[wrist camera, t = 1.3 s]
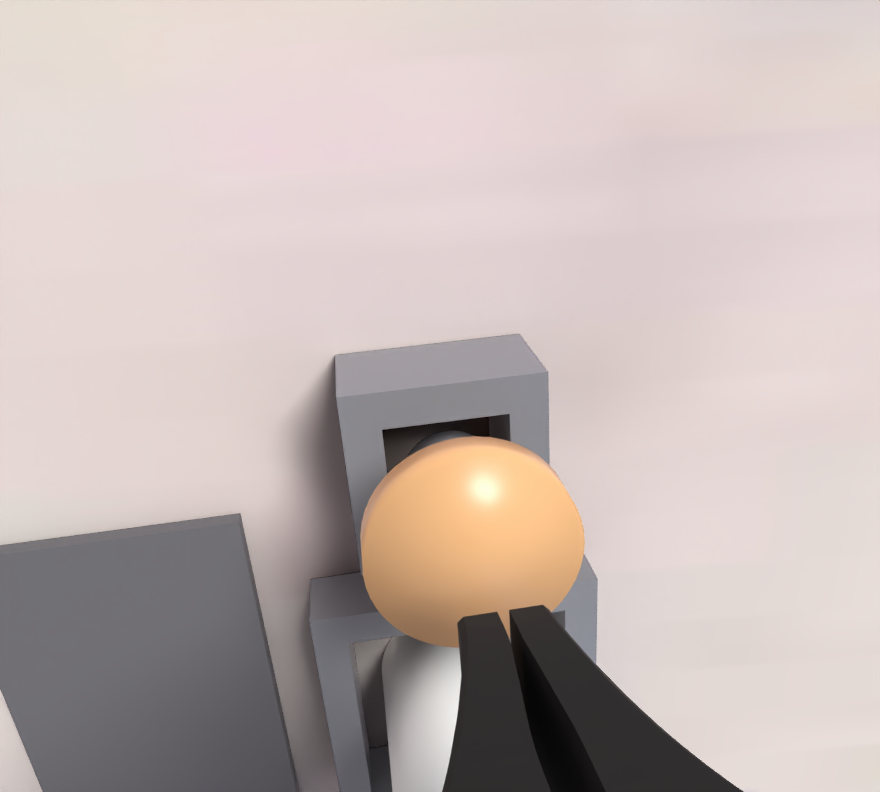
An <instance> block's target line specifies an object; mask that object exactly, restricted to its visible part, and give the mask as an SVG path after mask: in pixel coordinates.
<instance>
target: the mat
mask: <svg viewBox="0 0 880 792" xmlns="http://www.w3.org/2000/svg"><path fill="white" fill-rule="evenodd" d="M0 689H1V691H2V694H3V696H4V699H5V701H6V704H7V706H8V708H9V711H10V713H11V716H12V718H13V721H14V723H15V725H16V728H17V730H18V733H19V735H20V737H21V740H22V742H23V745H24V747H25V750H26V752H27V754H28V757H29V759H30V762H31V764H32V767H33V769H34V771H35V774H36V776H37V779H38V781H39V784H40V786H41V788H42V791H43V792H299V788H298V783H297V778H296V773H295V769H294V764H293V759H292V755H291V750H290V745H289V741H288V736H287V731H286V726H285V722H284V717H283V712H282V708H281V703H280V698H279V693H278V689H277V684H276V679H275V675H274V670H273V665H272V661H271V656H270V651H269V646H268V642H267V637H266V632H265V628H264V623H263V618H262V614H261V609H260V604H259V599H258V595H257V590H256V585H255V581H254V576H253V571H252V566H251V562H250V557H249V552H248V548H247V543H246V538H245V534H244V529H243V524H242V519H241V515H240V514H232V515H225V516H217V517H210V518H202V519H195V520H187V521H180V522H172V523H165V524H157V525H150V526H142V527H135V528H128V529H120V530H113V531H105V532H98V533H90V534H83V535H75V536H68V537H60V538H53V539H45V540H38V541H30V542H23V543H16V544H8V545H1V546H0Z"/></svg>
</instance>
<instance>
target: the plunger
mask: <svg viewBox="0 0 880 792" xmlns="http://www.w3.org/2000/svg"><path fill="white" fill-rule="evenodd" d="M360 538H361V554H362V569H363V577H364V582H365V586H366V589H367V592H368V594H369V597H370V599H371V600H372V602H373V604H374V605H375V607H376V609H377V610H378V611H379V612H380V613H381V615H382V616H383V617H384V618H385V619H386V620H387V621H388V622H389V623H390V624H392V625H393V626H394V627H395V628H397V629H398V630H400V631H401V632H403V633H405V634H407V635H409V636H411V637H413V638H415V639H417V640H420V641H423V642H426V643H429V644H434V645H438V646H445V647H459V639H458V626H457V623H458V622H459V621H460V620H461V619H462V618H463V617H465V616H472V615H478V614H485V613H491V612H498V614H499V617H500V619H501V621H502V623H503V625H504V627H505V630H506V632H507V634H508V637H509V638H510V619H509V610H511V609H518V608H524V607H531V606H538V605H544V606H545V607H547V608H548V609H549V610H550V611H551V612H552V611H553V610H554V609H555V608H556V607H557V606H558V605H559V604H560V603H561V602H562V600H563V599H564V598H565V596H566V595H567V594H568V592H569V591H570V589H571V587H572V586H573V584H574V582H575V580H576V578H577V575H578V573H579V570H580V568H581V564H582V560H583V555H584V544H585V541H584V529H583V525H582V521H581V517H580V515H579V512H578V510H577V508H576V506H575V504H574V502H573V501H572V499H571V497H570V495H569V494H568V492H567V490H566V489H565V487H564V485H563V483H562V482H561V480H560V479H559V477H558V475H557V474H556V472H555V471H554V470H553V469H552V468H551V466H550V465H549V464H548V463H547V462H545V461H544V460H543V459H542V458H541V457H540V456H538V455H537V454H535V453H534V452H532V451H531V450H529V449H527V448H525V447H523V446H521V445H519V444H516V443H513V442H510V441H507V440H503V439H498V438H492V437H479V436H474V435H471V434H469V433H466V432H462V431H443V432H438V433H435V434H432V435H430V436H428V437H426V438H425V439H423V440H422V441H420V442H419V443H418V444H417V445H416V446H415V447H414V448H413V449H412V450H411V452H410V453H409V455H408V457H407V458H405V459H404V460H403V461H402V462H400V463H399V464H398V465H396V466H395V467H394V468H393V469H392V470H391V471H390V472H389V473H388V474H387V475H386V476H385V477H384V478H383V479H382V481H381V482H380V483H379V485H378V486H377V487H376V489H375V490H374V492H373V494H372V496H371V497H370V499H369V501H368V504H367V506H366V509H365V511H364V515H363V519H362V523H361V533H360Z"/></svg>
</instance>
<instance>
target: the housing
mask: <svg viewBox="0 0 880 792" xmlns="http://www.w3.org/2000/svg"><path fill="white" fill-rule="evenodd" d="M335 372H336V401H337V408H338V415H339V422H340V429H341V436H342V443H343V451H344V458H345V465H346V472H347V479H348V486H349V493H350V500H351V507H352V514H353V522H354V529H355V536H356V543H357V550H358V557H359V564H360V571H361V572H358V573H351V574H344V575H337V576H330V577H323V578H316V579H311V588H310V615H309V623H310V629H311V634H312V640H313V646H314V651H315V657H316V662H317V668H318V673H319V679H320V684H321V690H322V695H323V701H324V706H325V712H326V717H327V723H328V728H329V734H330V739H331V745H332V751H333V756H334V762H335V767H336V773H337V778H338V784H339V789H340V792H392V780H391V769H390V757H389V746H384V747H378V748H372V749H369V743H368V736H367V730H366V723H365V717H364V710H363V704H362V697H361V691H360V684H359V678H358V671H357V664H356V658H355V651H354V645H353V643H355V642H362V641H369V640H375V639H382V638H388V637H395V636H401V635H407V634H405V633H403V632H401V631H400V630H398V629H397V628H395V627H394V626H393V625H392V624H390V623H389V622H388V621H387V620H386V619H385V618H384V617H383V616H382V615H381V613H380V612H379V611H378V610H377V609H376V607H375V605H374V604H373V602H372V600H371V599H370V597H369V594H368V592H367V589H366V586H365V582H364V577H363V569H362V554H361V538H360V533H361V523H362V519H363V515H364V511H365V509H366V506H367V504H368V501H369V499H370V497H371V496H372V494H373V492H374V490H375V489H376V487H377V486H378V485H379V483H380V482H381V481H382V479H383V478H384V477H385V476H386V475H387V468H386V459H385V451H384V442H383V433H382V430H384V429H392V428H400V427H408V426H416V425H424V424H432V423H440V422H448V421H456V420H464V419H472V418H480V417H488V416H489V433H490V437H492V438H498V439H503V440H507V441H510V442H513V443H516V444H519V445H521V446H523V447H525V448H527V449H529V450H531V451H532V452H534V453H535V454H537V455H538V456H540V457H541V458H542V459H543V460H544V461H545V462H547V463H548V464H549V394H548V371H547V370H546V368H545V367H544V366H543V364H542V363H541V362H540V360H539V359H538V358H537V356H536V355H535V354H534V352H533V351H532V350H531V348H530V347H529V346H528V345H527V343H526V342H525V341H524V339H523V338H522V337H521V335H520V334H514V335H505V336H496V337H487V338H479V339H470V340H461V341H453V342H444V343H435V344H426V345H418V346H409V347H400V348H392V349H383V350H374V351H365V352H357V353H348V354H339V355H335ZM597 580H598V579H597V577H596V575H595V573H594V571H593V570H592V568H591V566H590V564H589V562H588V560H587V558H586V557H585V555H583V560H582V564H581V568H580V570H579V573H578V575H577V578H576V580H575V582H574V584H573V586H572V587H571V589H570V591H569V592H568V594H567V595H566V596H565V598H564V599H563V600H562V602H561V603H560V604H559V605H558V606H557V607H556V608H555V609H554V610H553V611H552V612H551V613H552V614H553V615H554V616H555V618H556V619H557V620H558V621H559V623H560V624H561V625H562V626H563V628H564V629H565V630H566V631H567V632H568V634H569V635H570V636H571V637H572V638H573V639H574V641H575V642H576V643H577V644H578V645H579V646H580V647H581V648H582V650H583V651H584V652H585V653H586V654H587V655H588V656H589V657H590V658H591V660H592V661H593V662H594V663H595V664H596V639H597Z"/></svg>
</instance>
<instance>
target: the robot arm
mask: <svg viewBox="0 0 880 792" xmlns="http://www.w3.org/2000/svg"><path fill="white" fill-rule="evenodd" d="M509 619H510V639H509V637H508V634H507V632H506V630H505V627H504V625H503V623H502V621H501V619H500V617H499V614H498V612H491V613H485V614H478V615H472V616H465V617H463V618H462V619H461V620H460V621H459V622H458V623H457V626H458V639H459V651H460V664H461V685H460V695H459V705H458V714H457V721H456V726H455V732H454V738H453V743H452V749H451V755H450V760H449V764H448V769H447V773H446V778H445V782H444V786H443V790H442V792H743V791H742V790H740V789H739V788H737V787H736V786H734V785H733V784H732V783H730V782H729V781H728V780H726V779H725V778H723V777H722V776H721V775H719V774H718V773H717V772H715V771H714V770H713V769H711V768H710V767H709V766H707V765H706V764H705V763H703V762H702V761H701V760H700V759H698V758H697V757H696V756H695V755H693V754H692V753H691V752H689V751H688V750H687V749H686V748H684V747H683V746H682V745H681V744H680V743H678V742H677V741H676V740H675V739H674V738H672V737H671V736H670V735H669V734H668V733H667V732H665V731H664V730H663V729H662V728H661V727H660V726H659V725H657V724H656V723H655V722H654V721H653V720H652V719H651V718H650V717H649V716H648V715H647V714H645V713H644V712H643V711H642V710H641V709H640V708H639V707H638V706H637V705H636V704H635V703H634V702H633V701H632V700H631V699H629V698H628V697H627V696H626V695H625V694H624V693H623V692H622V691H621V690H620V689H619V688H618V687H617V686H616V685H615V684H614V683H613V681H612V680H611V679H610V678H609V677H608V676H607V675H606V674H605V673H604V672H603V671H602V670H601V669H600V668H599V667H598V666H597V665H596V664H595V663H594V662H593V661H592V660H591V658H590V657H589V656H588V655H587V654H586V653H585V652H584V651H583V650H582V648H581V647H580V646H579V645H578V644H577V643H576V642H575V641H574V639H573V638H572V637H571V636H570V635H569V634H568V632H567V631H566V630H565V629H564V628H563V626H562V625H561V624H560V623H559V621H558V620H557V619H556V618H555V616H554V615H553V614H552V613H551V611H550V610H549V609H548V608H547V607H545V606H544V605H538V606H531V607H524V608H518V609H511V610H509ZM510 642H511V643H510Z"/></svg>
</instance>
